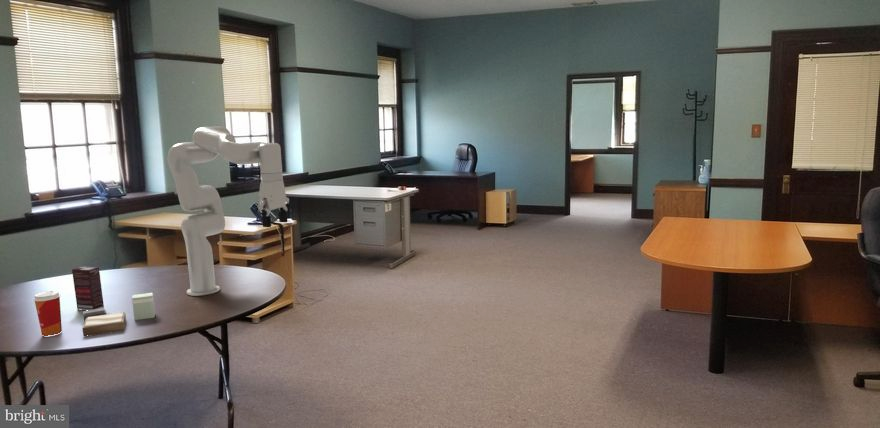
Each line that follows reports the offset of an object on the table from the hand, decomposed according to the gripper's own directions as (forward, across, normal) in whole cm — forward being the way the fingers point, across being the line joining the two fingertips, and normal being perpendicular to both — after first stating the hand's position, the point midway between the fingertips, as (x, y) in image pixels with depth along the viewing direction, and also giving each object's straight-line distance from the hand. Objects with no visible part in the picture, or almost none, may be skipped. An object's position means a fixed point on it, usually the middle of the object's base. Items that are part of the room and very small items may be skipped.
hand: (275, 224), depth 230 cm
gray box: (+31, +35, -54) cm, 71 cm away
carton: (+30, +26, -40) cm, 56 cm away
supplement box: (+31, +25, -68) cm, 78 cm away
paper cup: (+31, +50, -56) cm, 81 cm away
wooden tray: (+30, +40, -43) cm, 66 cm away
